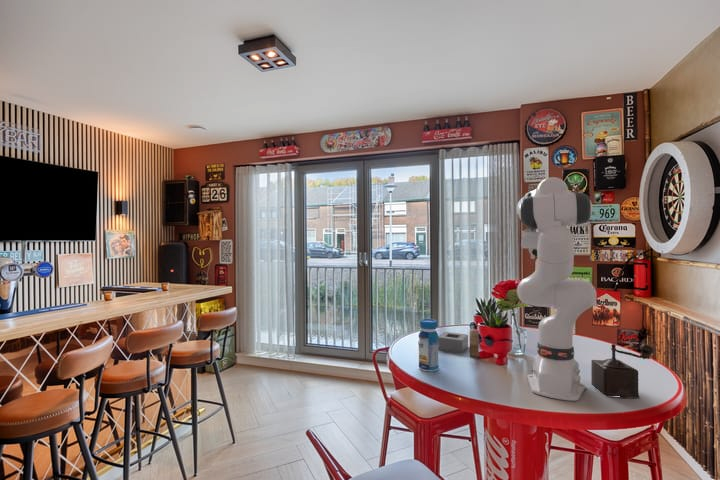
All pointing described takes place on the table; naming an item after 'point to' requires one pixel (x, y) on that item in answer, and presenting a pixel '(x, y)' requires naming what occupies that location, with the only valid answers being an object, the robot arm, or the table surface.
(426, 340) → the beverage bottle
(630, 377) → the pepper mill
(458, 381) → the table surface
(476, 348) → the walnut peg
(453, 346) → the charcoal socket
